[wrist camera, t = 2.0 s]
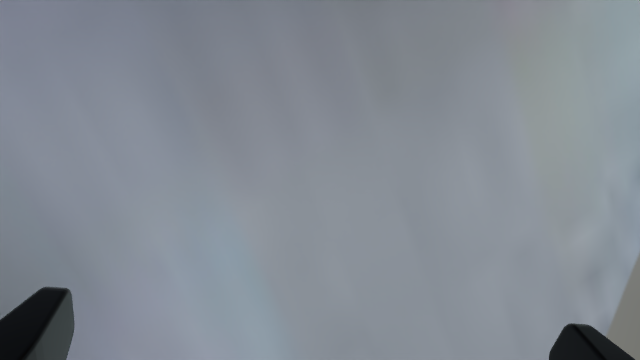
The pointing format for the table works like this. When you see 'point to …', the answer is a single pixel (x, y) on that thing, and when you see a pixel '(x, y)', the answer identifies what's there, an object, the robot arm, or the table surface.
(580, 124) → the table surface
